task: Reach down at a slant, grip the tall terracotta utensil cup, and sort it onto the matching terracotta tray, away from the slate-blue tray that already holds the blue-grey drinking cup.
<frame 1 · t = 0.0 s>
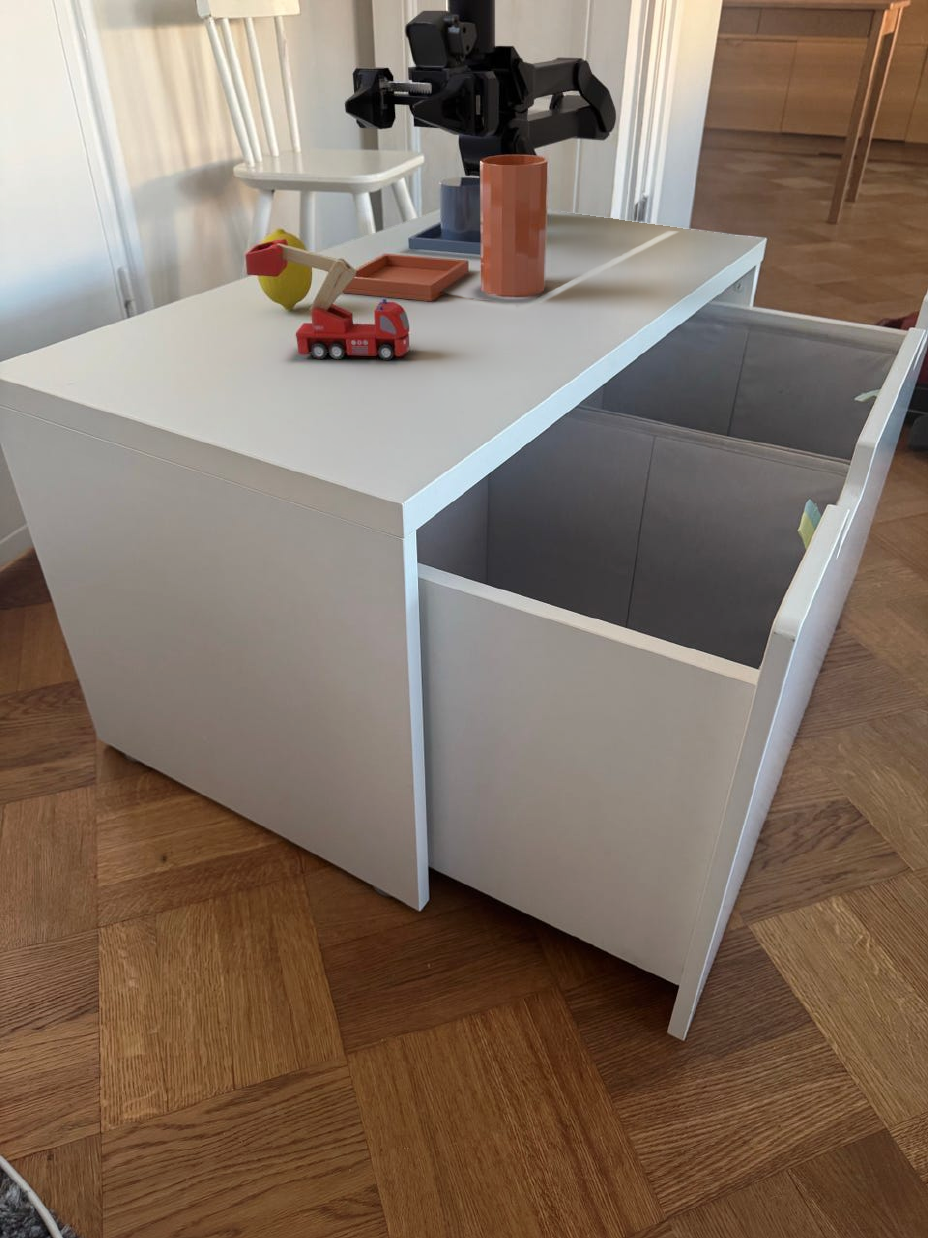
hand: (379, 108, 99), 17 cm above the table, tool horizontal, fingers open, 9 cm apart
lemon: (289, 311, 95), on the table
terracotta cup: (512, 292, 99), on the table
terracotta tray: (407, 283, 103), on the table
toy fire truck: (336, 355, 84), on the table
blue-grey drinking cup: (464, 241, 116), resting on slate tray
slate tray: (464, 245, 117), on the table
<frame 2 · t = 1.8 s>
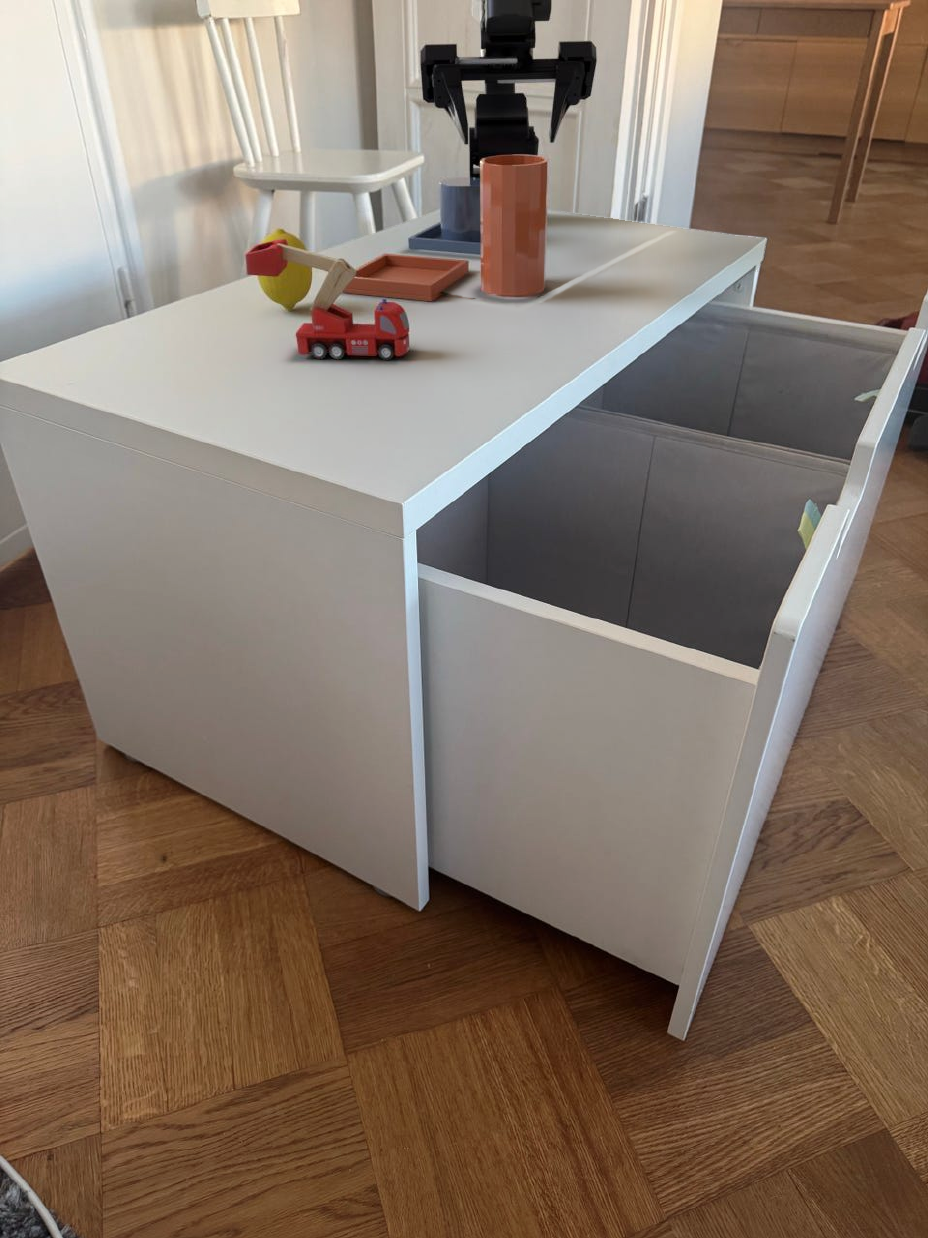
hand: (509, 140, 98), 14 cm above the table, tool tilted 45°, fingers open, 9 cm apart
nothing on the table moved.
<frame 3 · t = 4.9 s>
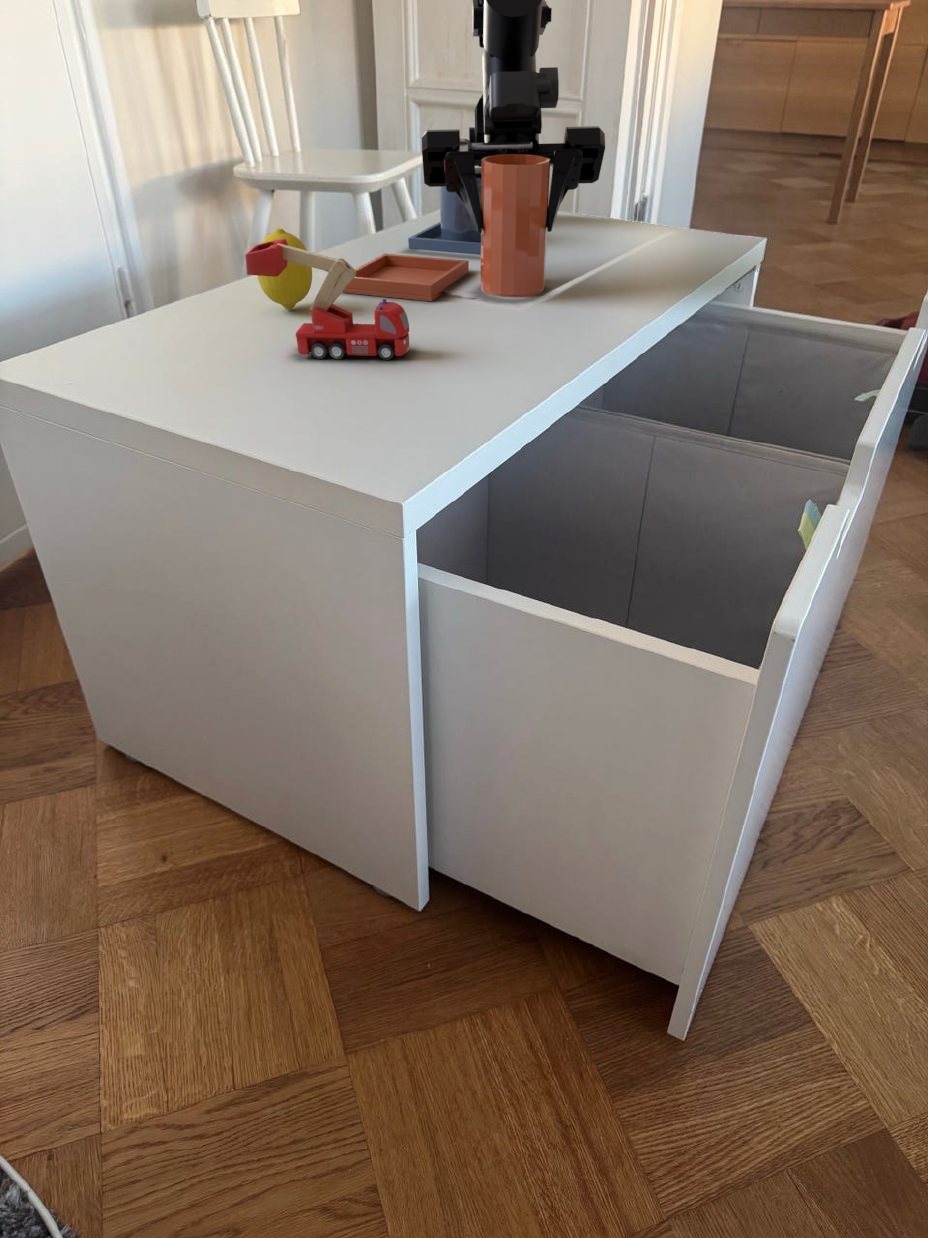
hand: (514, 229, 94), 7 cm above the table, tool tilted 45°, fingers closed on terracotta cup, 7 cm apart
terracotta cup: (512, 291, 99), on the table, touching gripper
everything else where it was.
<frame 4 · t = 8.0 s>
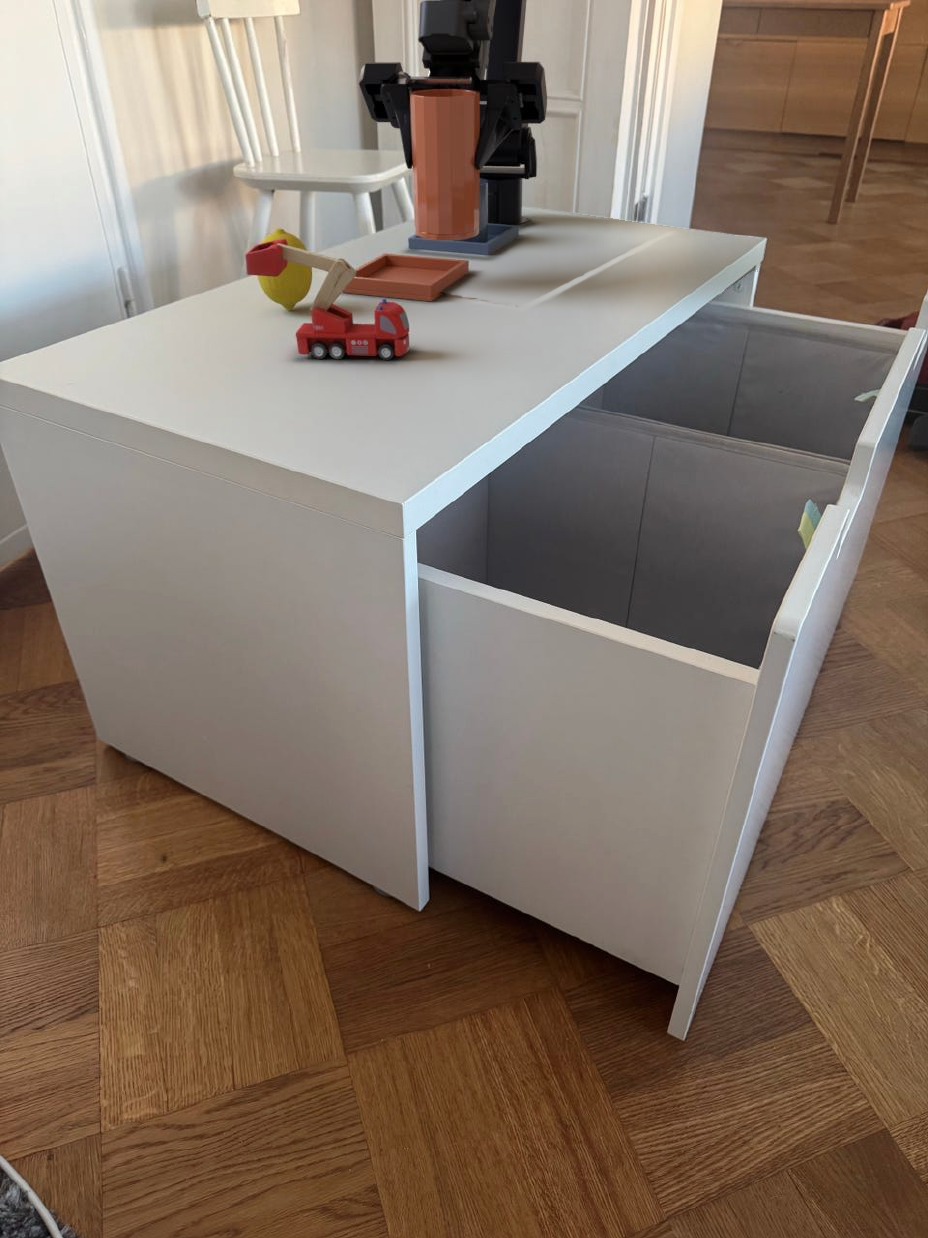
hand: (442, 166, 92), 12 cm above the table, tool tilted 45°, fingers closed on terracotta cup, 7 cm apart
terracotta cup: (447, 232, 97), point 6 cm above the table, touching gripper
everything else where it was.
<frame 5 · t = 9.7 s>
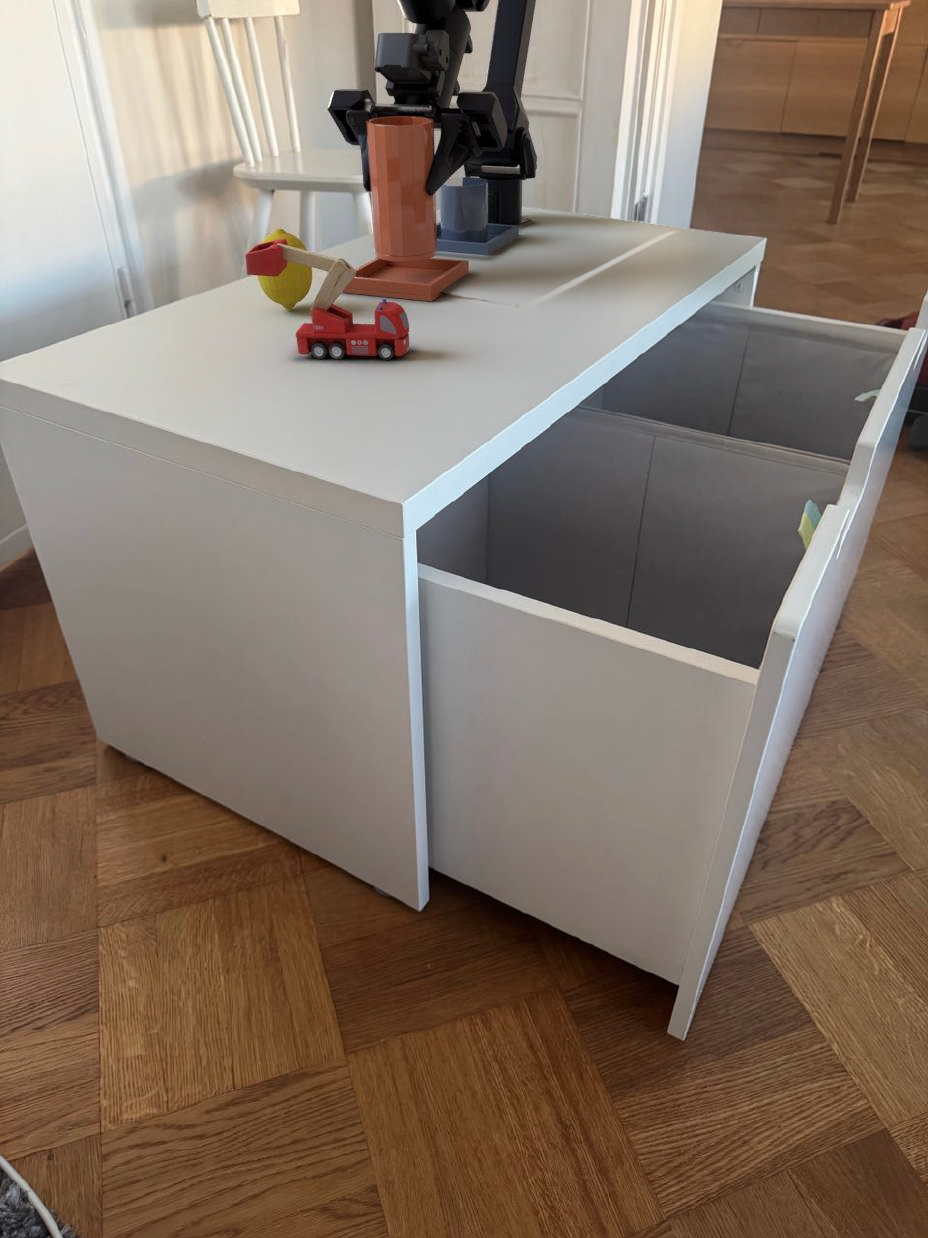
hand: (397, 191, 96), 10 cm above the table, tool tilted 45°, fingers closed on terracotta cup, 7 cm apart
terracotta cup: (405, 253, 101), point 3 cm above the table, touching gripper
everything else where it was.
when the fingers open (7 cm above the table, at t = 11.1 s): terracotta cup stays where it is, resting on terracotta tray.
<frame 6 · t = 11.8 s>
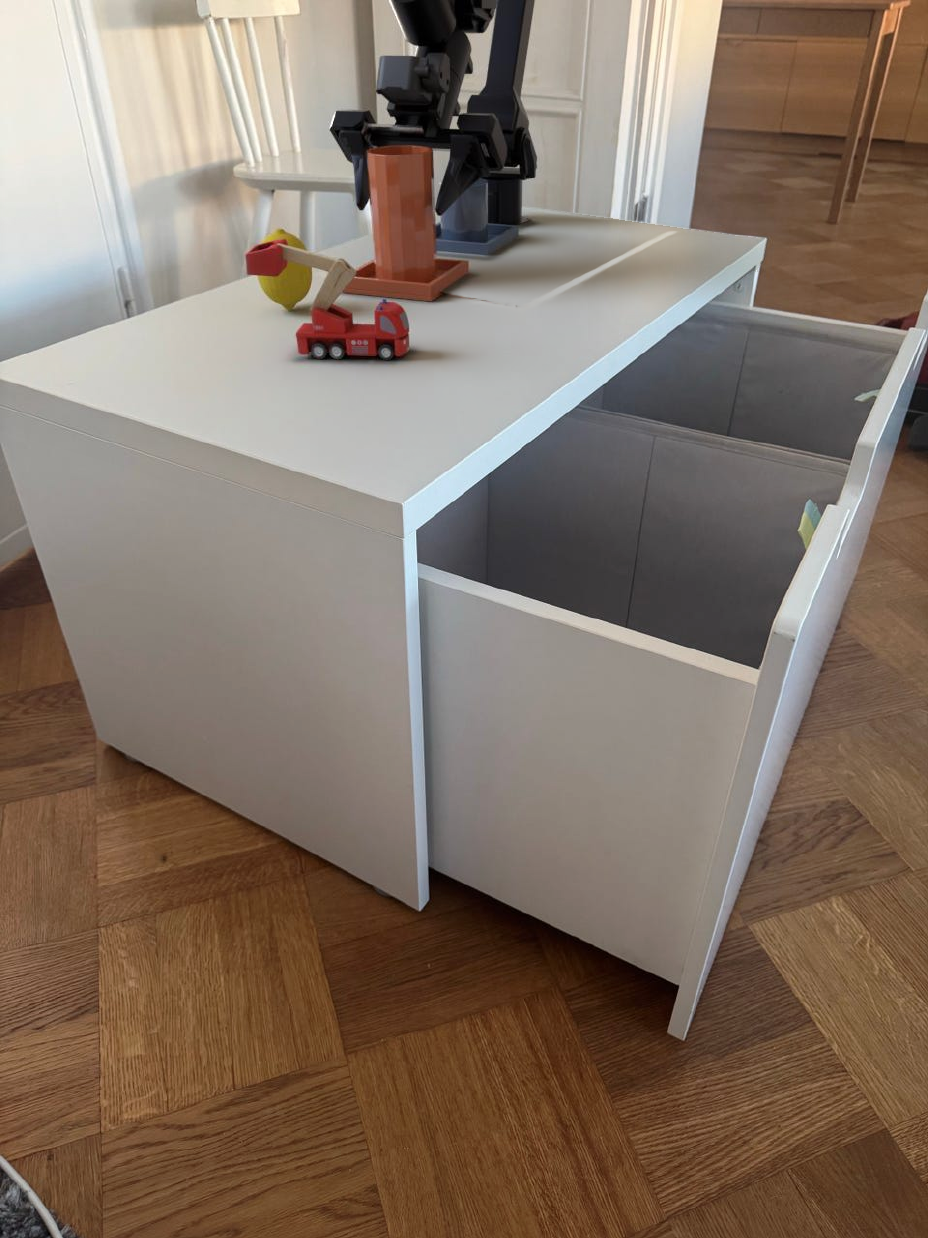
hand: (398, 210, 97), 8 cm above the table, tool tilted 45°, fingers open, 9 cm apart
terracotta cup: (406, 279, 102), resting on terracotta tray
everything else where it was.
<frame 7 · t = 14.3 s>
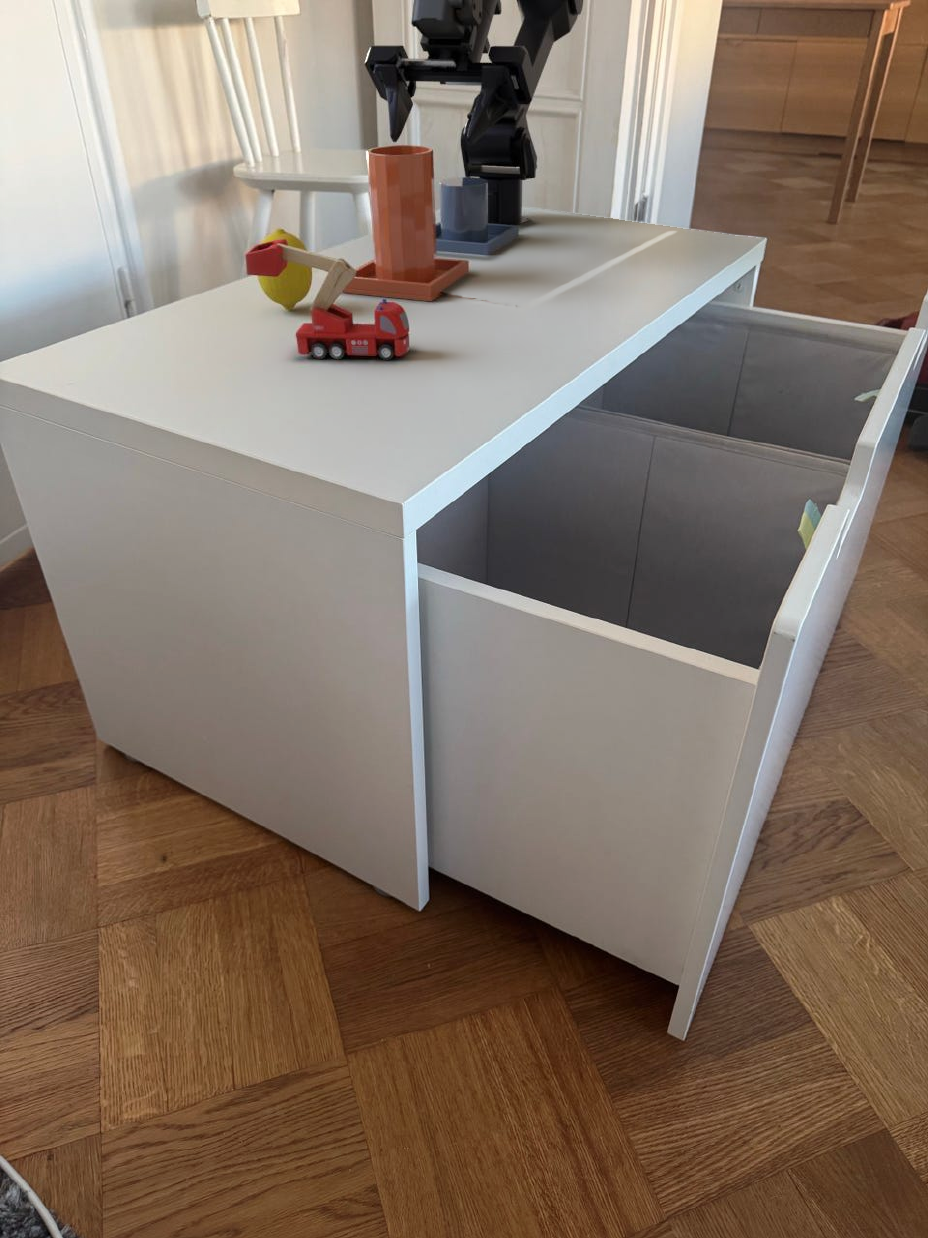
hand: (430, 140, 101), 13 cm above the table, tool tilted 45°, fingers open, 9 cm apart
nothing on the table moved.
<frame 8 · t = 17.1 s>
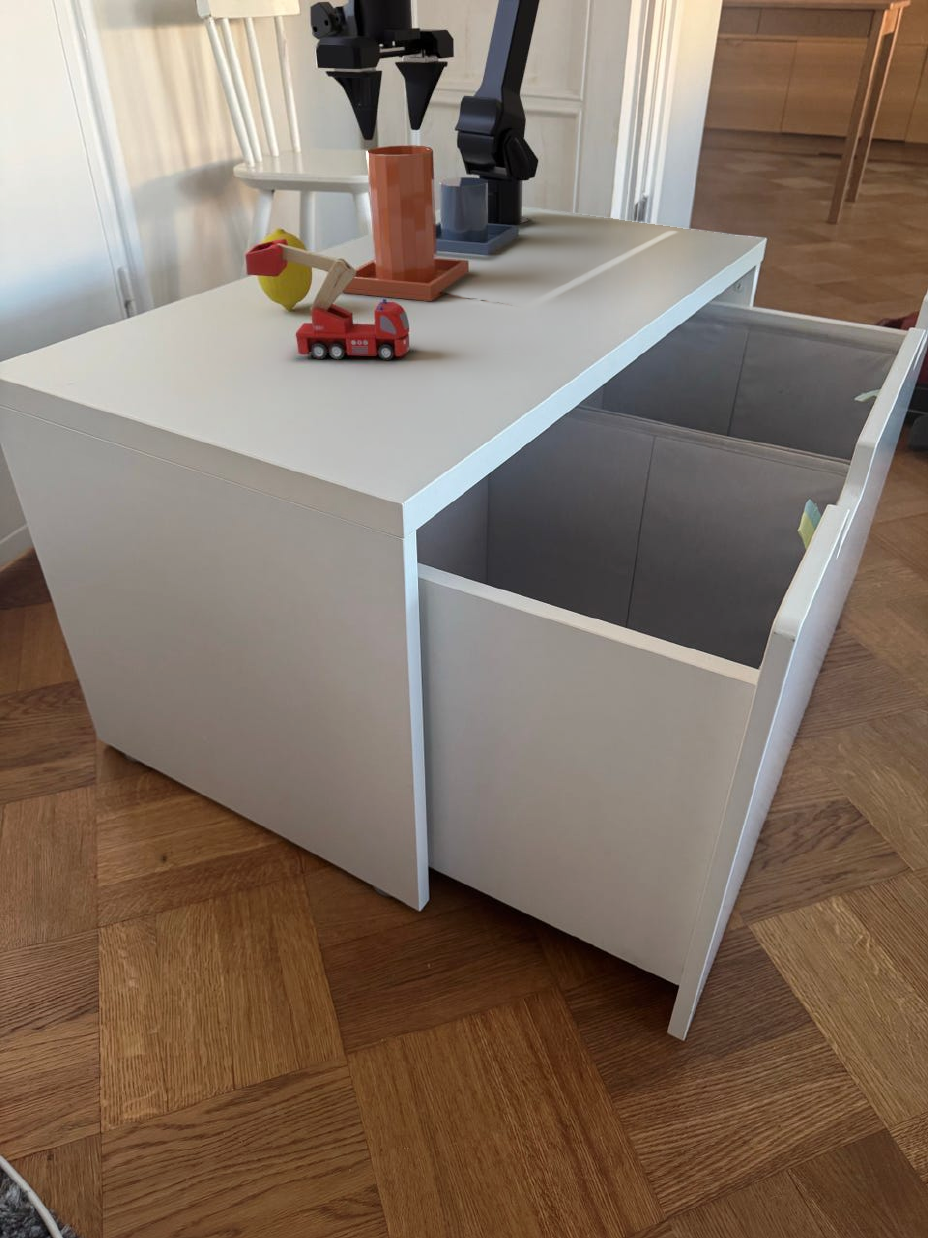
hand: (392, 134, 108), 13 cm above the table, tool pointing down, fingers open, 9 cm apart
nothing on the table moved.
at the end: terracotta cup 0.1 cm off-centre in the terracotta tray, point 0.5 cm above the terracotta tray's base; terracotta cup tilted 0°; terracotta cup touching terracotta tray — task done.
